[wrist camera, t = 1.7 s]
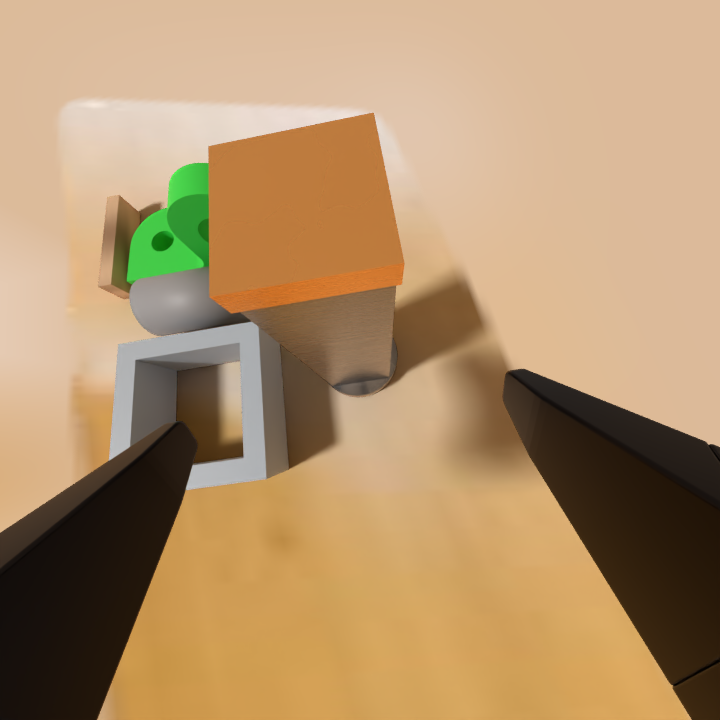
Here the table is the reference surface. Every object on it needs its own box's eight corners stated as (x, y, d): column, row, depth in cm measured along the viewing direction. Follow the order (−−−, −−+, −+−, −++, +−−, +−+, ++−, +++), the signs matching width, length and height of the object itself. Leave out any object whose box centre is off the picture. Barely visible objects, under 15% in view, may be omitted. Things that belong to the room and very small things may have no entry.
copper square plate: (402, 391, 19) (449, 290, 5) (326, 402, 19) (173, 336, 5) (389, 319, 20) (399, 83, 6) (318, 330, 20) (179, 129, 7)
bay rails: (318, 263, 21) (312, 247, 19) (123, 298, 22) (97, 286, 20) (309, 180, 23) (302, 158, 21) (129, 215, 24) (107, 197, 22)
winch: (288, 469, 18) (262, 480, 14) (157, 487, 18) (96, 503, 15) (275, 277, 21) (250, 244, 18) (164, 297, 22) (116, 269, 18)
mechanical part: (290, 208, 23) (242, 98, 15) (294, 272, 22) (242, 185, 14) (154, 230, 24) (43, 136, 16) (148, 294, 22) (24, 223, 15)
